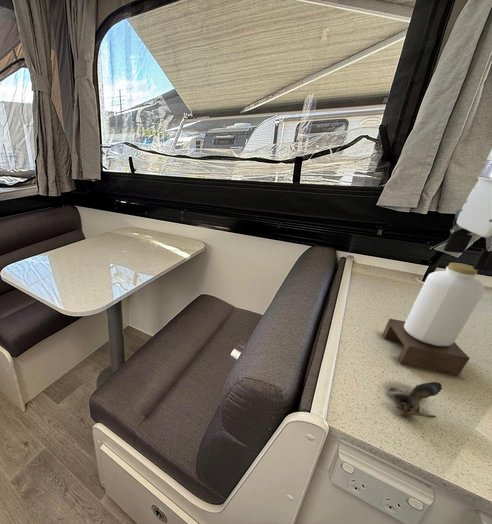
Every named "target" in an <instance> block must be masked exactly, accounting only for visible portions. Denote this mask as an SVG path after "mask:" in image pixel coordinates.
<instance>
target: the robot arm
mask: <svg viewBox="0 0 492 524" xmlns="http://www.w3.org/2000/svg"><path fill="white" fill-rule="evenodd" d="M477 180H478V181H476V183H475V185H474V186H473V188H472V190H471V191H470V193H469V194H468V196H467V198H466V200H465V202H464V203H463V206H462V208H459V209H456V211H455V212H454V213H455V214H454V220H453V221H452V227H451V229H450V234H449V237H448V239H447V241H446V242H445V245H444V247H443V251H444V252H447V253H457V254H464V253H465V252H466V249H467V247H468V246H469V244H470V242H471V240H472V238H473V235H472V233H473V234H475V235H477V236H479V237H482V238H485V247H486V248H482V249H481V251H480V253H479V255H478V256H477V259H476V260H475V262H474V264H473V265H472V266H473V269H475V270H478V271H482V272H491V273H492V149H490V152H489V153H488V155H487V158H486V161H485V163H484V164H483V167H482V168H481V171H480V173H479V175H478V177H477Z"/></svg>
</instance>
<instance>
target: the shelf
mask: <svg viewBox="0 0 492 524" xmlns="http://www.w3.org/2000/svg"><path fill="white" fill-rule="evenodd" d="M405 322H406V320H401V319H394V318H389V319H388V321H387V323H386V325H385V328H384V330H383V332H382V334H381V336H382V337H383V339H384V340H389V341H393V342H399V343H402V345H403V346H402V349H401V351H400V353H399V355H398V357H397V361H398V363H399V364H400V365H401V366H402V365H403V366H408V367H412V368H415V369H416V368H417V369H420V370H426V371H429V372H435V373H439V374H443V375H447V376H452V377H456V378H459V375H460V374H461V372H462V371H463V369H464V368H465V367H466V365H467V363H468V362H469V360H470V359H471V357H469V356H468V354H466V353H465V352H464V350H463V349H461V347H459V345H458V344H457V343H456V341H455V342H454V343H453V344H451V345H450V346H435V345H431V344H427V343H424V342H422V341H419V340H417V339H415V338H414V337H412V336H411V335H409V334H408V333H407V332H406V330H405V328H404V324H405Z"/></svg>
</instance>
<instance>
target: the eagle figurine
mask: <svg viewBox="0 0 492 524" xmlns="http://www.w3.org/2000/svg"><path fill="white" fill-rule="evenodd" d="M442 387H443V385H442V383H441V382H438V381H431V382H425V383H420V384H417V385H416V386H414V387H413V389H412V390H410V391H409V390H407V389H406V388H401V387H396V386H395V387H393V386H391V387H390V388H389V390H388V391H387V392H385V394H386V396H387V397H394V398H398V399H399V402H400V406H396V409H398V410H400V411H401V413H400V416H402V417H405V418H406V417H410V416H420V417H424V418H429V419H434V418H437V416H436V415H435V414H429V413H424V412H423V411H424V410H423V409H422V407H421V405H420V402H421V401H422V400H424V399H428V398H429V397H435V396H437V395H438V394H439V393H440V392H441V391H442V390H443V388H442Z"/></svg>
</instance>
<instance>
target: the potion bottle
mask: <svg viewBox="0 0 492 524" xmlns="http://www.w3.org/2000/svg"><path fill="white" fill-rule="evenodd" d="M473 266H474V265H470V264H467V263H460V262H449V263H448V265H447V266H446V267H445V270H437V271H436V270H435V271H433V272H430V273H429V274H428V275H427V277H426V278H425V280H424V283H423V285H422V286H421V289H420V291H419V293H418V295H417V297H416V299H415V301H414V303H413V306H412V307H411V309H410V311H409V313H408V316H407V318H406V320H405V321H406V322H405V324H404V328H405V330H406V332H407V333H408V334H409V335H411V336H412V337H414V338H415V339H417V340H419V341H422V342H424V343H427V344H431V345H435V346H450V345H451V344H453V343H454V342H455V343H456V341H457V339H458V337H459V335H460V333H462V332H461V331H462V330H463V328H464V327H465V326H466V323H467V322H468V320H469V318H470V317H471V315H472V313H473V311H474V310H475V308H476V307H477V305H478V303H479V302H480V300H481V298H482V296H483V295H484V293H485V291H486V286H485V284H484V283H483V282H481V280H479V279H477V278H475V277H477V276H478V273H477V272H478V271H479V270H475V269H473Z"/></svg>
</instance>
